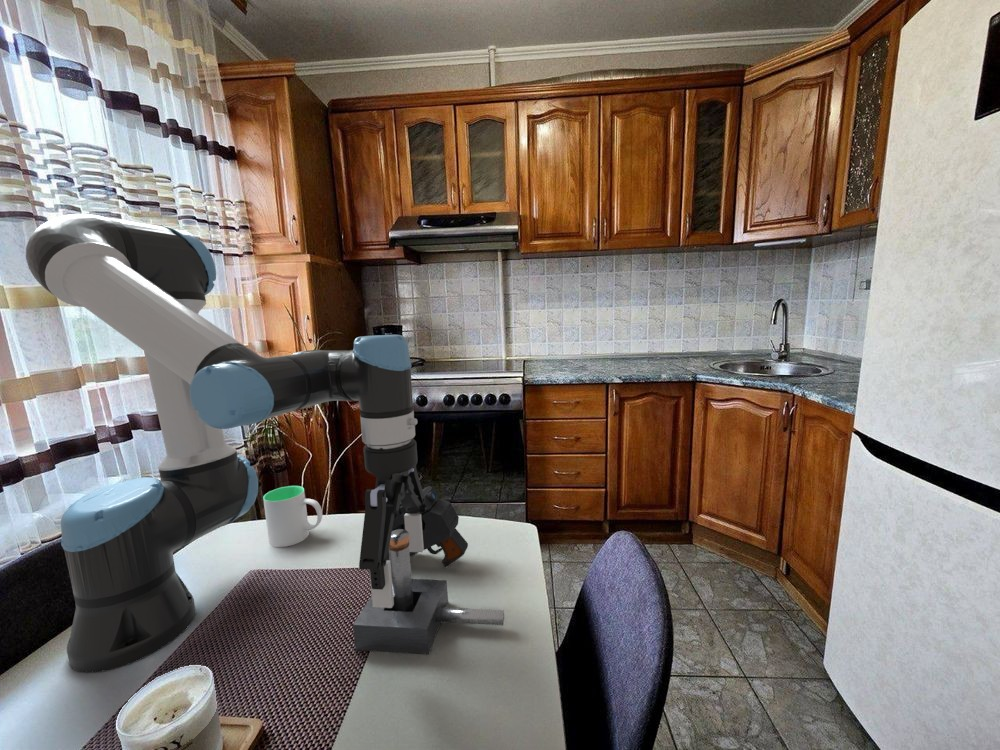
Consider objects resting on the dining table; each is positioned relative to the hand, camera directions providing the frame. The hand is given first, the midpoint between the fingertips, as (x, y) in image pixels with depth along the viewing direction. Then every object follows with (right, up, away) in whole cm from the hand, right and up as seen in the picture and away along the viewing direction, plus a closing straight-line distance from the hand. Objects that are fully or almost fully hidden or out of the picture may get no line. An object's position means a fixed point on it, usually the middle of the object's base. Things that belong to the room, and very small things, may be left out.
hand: (401, 575), depth 65 cm
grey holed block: (+5, -8, 0) cm, 10 cm away
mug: (-30, -6, +30) cm, 43 cm away
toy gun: (-1, -6, +18) cm, 19 cm away
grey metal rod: (0, -8, +1) cm, 8 cm away
